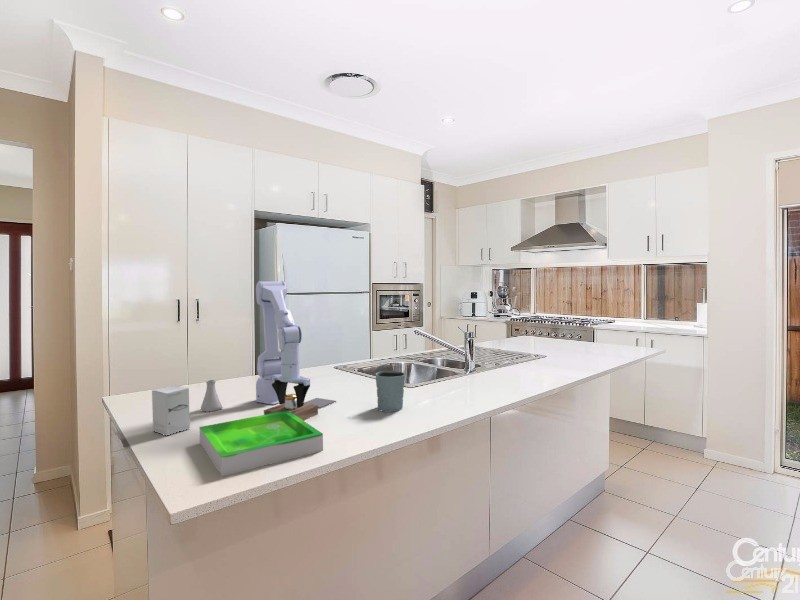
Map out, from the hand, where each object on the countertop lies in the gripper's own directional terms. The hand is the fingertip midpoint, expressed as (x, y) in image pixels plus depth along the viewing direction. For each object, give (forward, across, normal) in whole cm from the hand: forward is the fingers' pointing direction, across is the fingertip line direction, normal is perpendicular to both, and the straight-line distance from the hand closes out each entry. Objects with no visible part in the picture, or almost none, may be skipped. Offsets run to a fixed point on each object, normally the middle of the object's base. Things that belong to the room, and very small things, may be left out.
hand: (291, 405), depth 140 cm
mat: (+4, -2, +16) cm, 17 cm away
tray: (+5, +10, -23) cm, 26 cm away
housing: (+4, 0, 0) cm, 4 cm away
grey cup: (+4, +24, +23) cm, 33 cm away
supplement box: (+4, -23, -26) cm, 35 cm away
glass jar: (+4, 0, 0) cm, 4 cm away
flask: (+4, -31, -6) cm, 32 cm away
